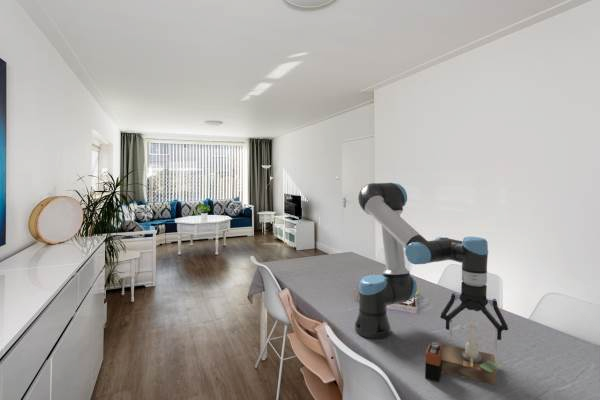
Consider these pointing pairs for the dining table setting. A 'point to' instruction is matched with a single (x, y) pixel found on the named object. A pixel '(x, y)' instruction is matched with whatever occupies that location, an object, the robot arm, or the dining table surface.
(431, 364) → the battery
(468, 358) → the peg knob
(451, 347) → the board
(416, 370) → the dining table surface
